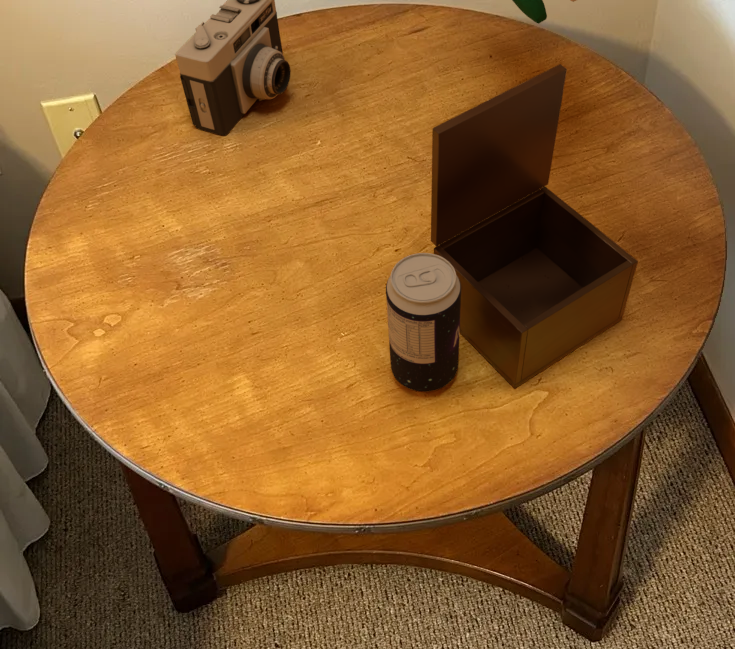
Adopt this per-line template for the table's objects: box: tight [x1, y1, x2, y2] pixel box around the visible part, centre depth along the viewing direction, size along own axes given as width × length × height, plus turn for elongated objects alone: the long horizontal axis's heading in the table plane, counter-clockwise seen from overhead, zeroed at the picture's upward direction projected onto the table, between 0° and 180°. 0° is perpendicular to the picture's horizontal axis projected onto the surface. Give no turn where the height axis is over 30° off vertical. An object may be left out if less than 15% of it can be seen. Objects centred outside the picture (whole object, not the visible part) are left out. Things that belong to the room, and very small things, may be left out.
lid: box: [430, 63, 568, 247], centre depth 69 cm, size 12×12×1 cm
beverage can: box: [385, 252, 461, 393], centre depth 69 cm, size 6×6×12 cm
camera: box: [174, 0, 291, 137], centre depth 94 cm, size 14×8×10 cm, turn 154°
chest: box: [433, 186, 639, 389], centre depth 74 cm, size 11×12×8 cm
